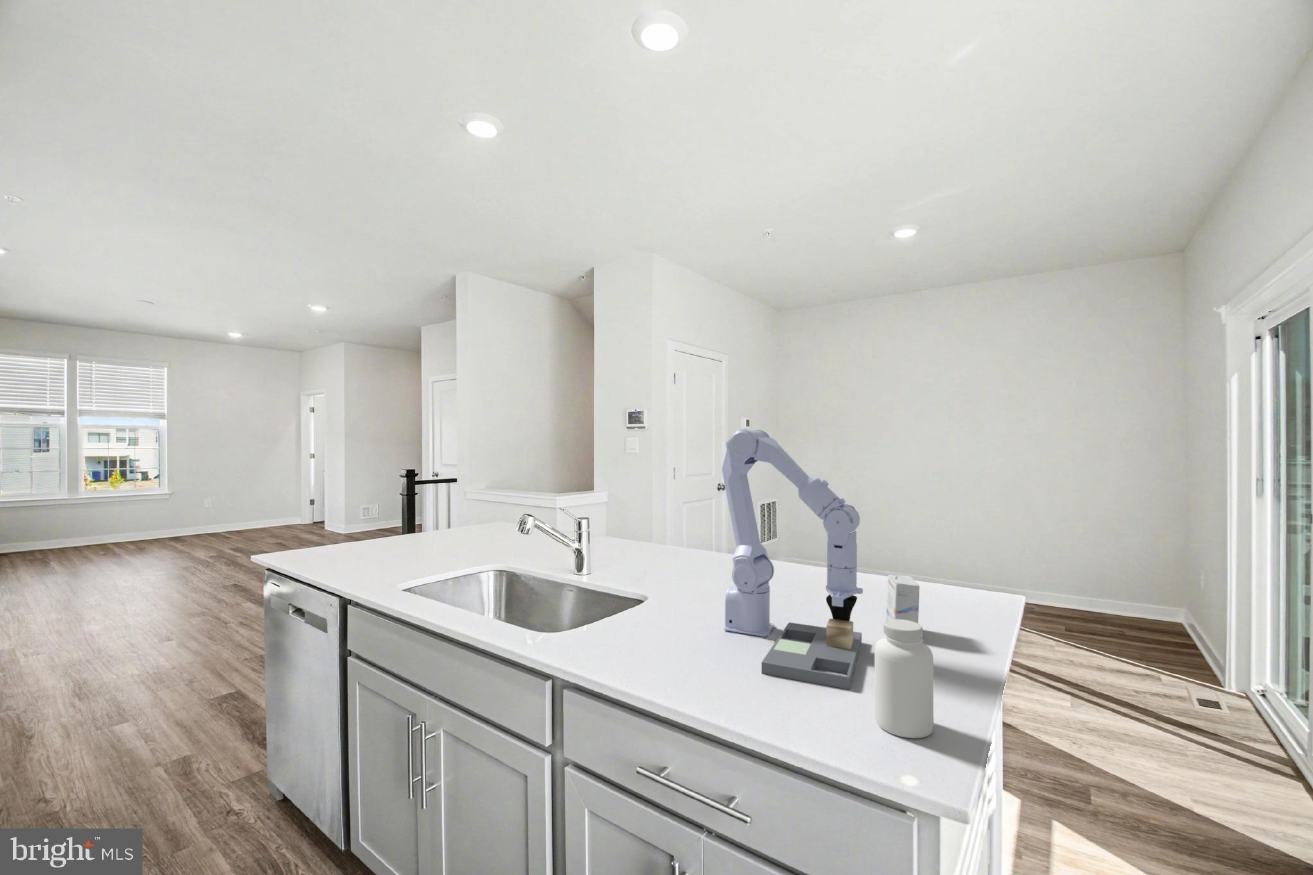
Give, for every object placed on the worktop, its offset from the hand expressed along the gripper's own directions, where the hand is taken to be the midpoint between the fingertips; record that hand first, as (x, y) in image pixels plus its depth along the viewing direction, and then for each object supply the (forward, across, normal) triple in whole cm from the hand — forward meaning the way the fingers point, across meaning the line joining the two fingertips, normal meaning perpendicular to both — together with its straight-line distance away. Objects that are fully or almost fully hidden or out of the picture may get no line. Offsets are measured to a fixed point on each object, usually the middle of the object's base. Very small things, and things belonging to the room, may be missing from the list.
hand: (841, 632), depth 113 cm
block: (+1, -4, 0) cm, 4 cm away
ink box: (+3, +15, -11) cm, 19 cm away
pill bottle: (+3, -28, -12) cm, 31 cm away
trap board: (+3, -7, +4) cm, 9 cm away
